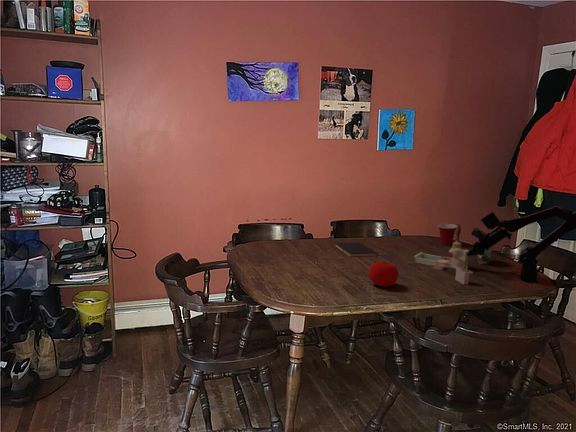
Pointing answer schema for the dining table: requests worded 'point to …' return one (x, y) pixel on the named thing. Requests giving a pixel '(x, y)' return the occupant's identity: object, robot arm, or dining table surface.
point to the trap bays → (441, 266)
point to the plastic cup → (447, 233)
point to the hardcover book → (356, 249)
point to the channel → (426, 258)
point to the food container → (485, 257)
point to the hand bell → (457, 243)
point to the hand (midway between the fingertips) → (467, 255)
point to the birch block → (456, 259)
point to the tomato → (383, 273)
